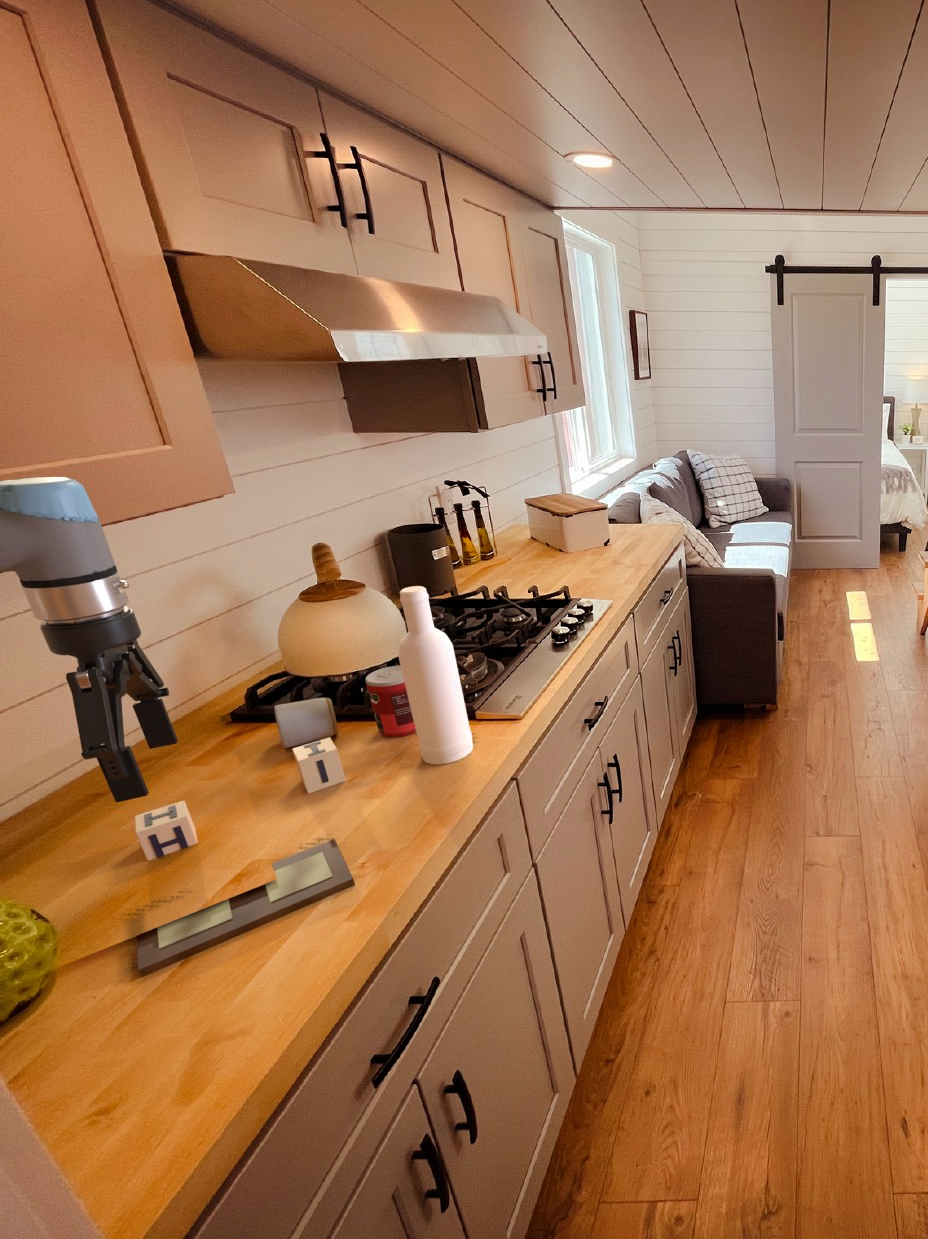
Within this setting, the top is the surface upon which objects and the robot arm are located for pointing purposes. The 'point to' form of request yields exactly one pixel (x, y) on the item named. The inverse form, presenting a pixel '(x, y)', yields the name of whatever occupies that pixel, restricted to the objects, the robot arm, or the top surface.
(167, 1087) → the top surface
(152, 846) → the letter H
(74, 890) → the top surface
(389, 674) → the canned food
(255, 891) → the word board
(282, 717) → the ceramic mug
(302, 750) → the letter I
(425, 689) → the bottle
